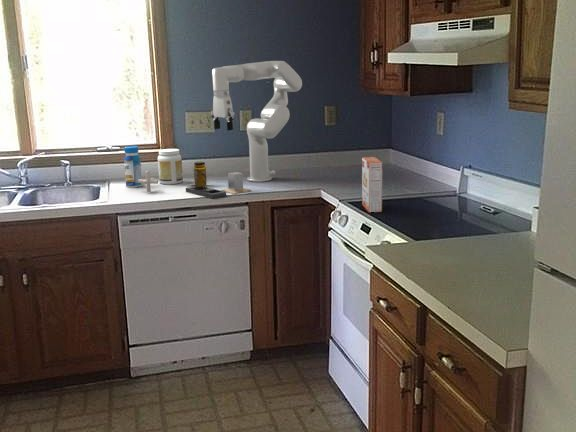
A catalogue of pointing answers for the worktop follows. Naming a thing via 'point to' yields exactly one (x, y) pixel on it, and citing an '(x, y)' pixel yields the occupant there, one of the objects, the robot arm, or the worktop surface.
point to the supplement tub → (170, 166)
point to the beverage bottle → (132, 166)
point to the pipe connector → (148, 181)
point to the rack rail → (206, 192)
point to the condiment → (199, 174)
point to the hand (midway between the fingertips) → (223, 129)
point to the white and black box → (235, 181)
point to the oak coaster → (236, 191)
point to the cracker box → (372, 184)
